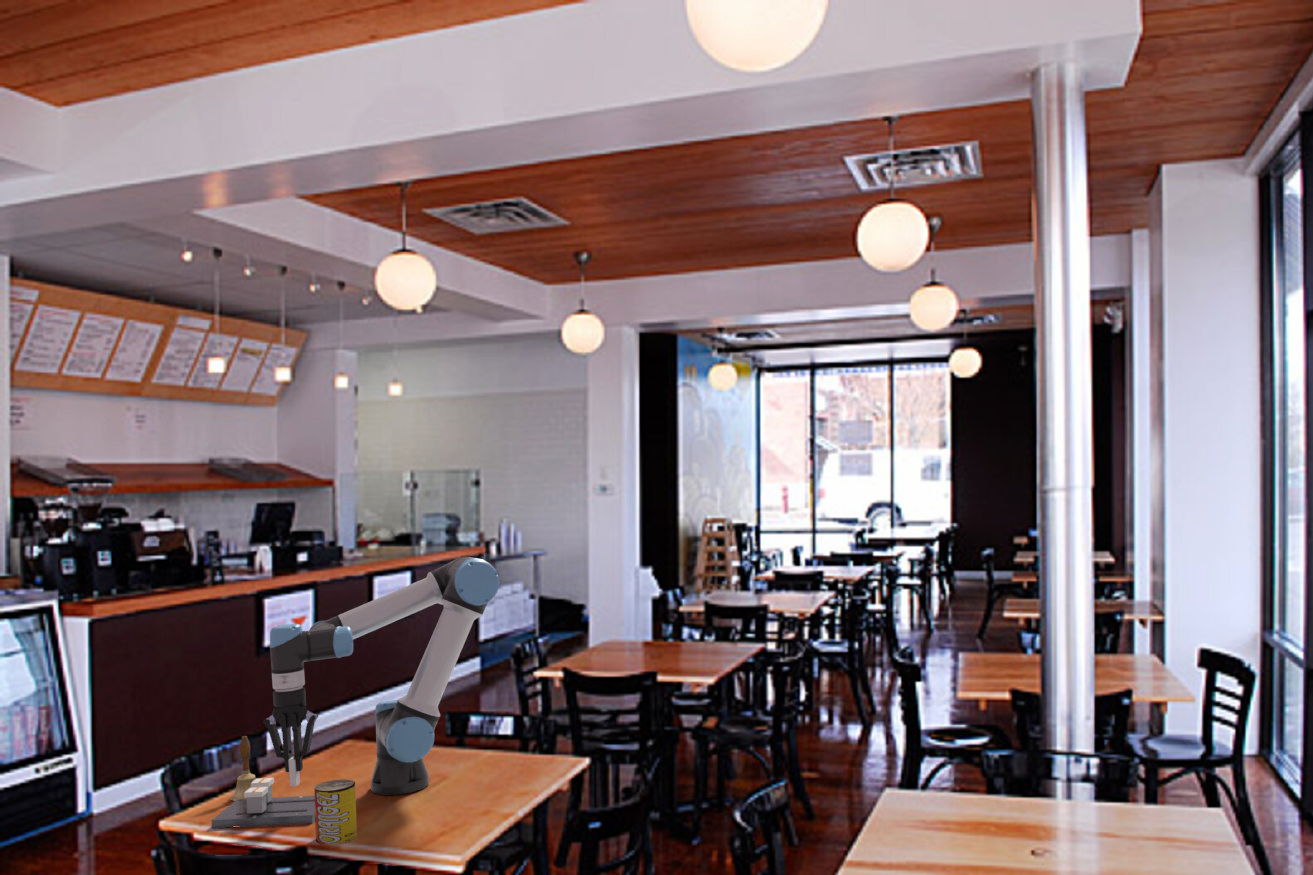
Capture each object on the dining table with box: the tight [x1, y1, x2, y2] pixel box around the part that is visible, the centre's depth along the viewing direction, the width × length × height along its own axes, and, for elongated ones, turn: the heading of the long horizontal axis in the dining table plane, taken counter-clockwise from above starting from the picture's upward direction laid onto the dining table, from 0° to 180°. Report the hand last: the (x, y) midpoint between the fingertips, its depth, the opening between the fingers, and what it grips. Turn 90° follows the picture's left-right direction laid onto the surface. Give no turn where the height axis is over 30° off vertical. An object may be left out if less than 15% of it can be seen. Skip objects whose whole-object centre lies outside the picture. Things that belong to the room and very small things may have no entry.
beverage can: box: [314, 778, 358, 846], centre depth 234 cm, size 9×9×12 cm
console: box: [211, 795, 315, 830], centre depth 252 cm, size 24×16×2 cm, turn 91°
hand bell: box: [229, 735, 257, 802], centre depth 269 cm, size 8×8×16 cm
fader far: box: [251, 776, 275, 803], centre depth 256 cm, size 4×4×5 cm
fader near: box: [244, 786, 268, 814], centre depth 248 cm, size 4×4×5 cm
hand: (295, 784), depth 249 cm, fingers closed
